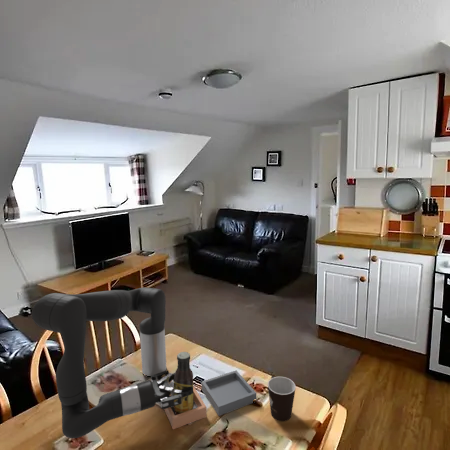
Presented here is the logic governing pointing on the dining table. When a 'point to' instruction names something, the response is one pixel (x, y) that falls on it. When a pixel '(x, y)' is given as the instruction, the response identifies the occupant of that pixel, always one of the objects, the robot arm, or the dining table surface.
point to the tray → (228, 392)
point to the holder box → (187, 413)
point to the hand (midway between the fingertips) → (188, 381)
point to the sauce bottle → (183, 382)
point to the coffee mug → (281, 397)
